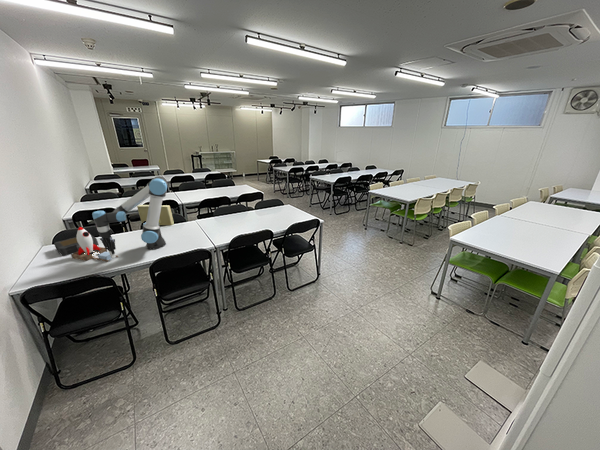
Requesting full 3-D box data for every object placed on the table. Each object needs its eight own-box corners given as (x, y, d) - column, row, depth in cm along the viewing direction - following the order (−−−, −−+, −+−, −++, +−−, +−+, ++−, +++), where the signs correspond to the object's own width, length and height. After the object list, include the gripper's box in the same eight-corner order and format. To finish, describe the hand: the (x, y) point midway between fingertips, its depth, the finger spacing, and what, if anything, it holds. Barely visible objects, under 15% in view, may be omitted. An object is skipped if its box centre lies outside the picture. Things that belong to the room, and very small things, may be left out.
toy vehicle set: (174, 223, 261) (170, 205, 253) (171, 225, 257) (167, 206, 249) (144, 223, 264) (139, 204, 256) (141, 224, 260) (136, 205, 252)
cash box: (62, 257, 194) (59, 249, 191) (56, 250, 205) (53, 242, 202) (99, 245, 213) (96, 238, 210) (92, 240, 224) (89, 232, 221)
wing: (114, 256, 193) (113, 253, 192) (107, 260, 188) (105, 256, 187) (106, 255, 196) (105, 251, 194) (99, 258, 190) (97, 255, 189)
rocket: (89, 258, 191) (77, 230, 181) (78, 257, 193) (67, 229, 183) (102, 251, 201) (92, 225, 192) (92, 250, 203) (81, 224, 194)
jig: (122, 254, 197) (121, 250, 196) (102, 264, 183) (101, 260, 182) (93, 249, 206) (92, 245, 205) (72, 258, 192) (70, 254, 191)
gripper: (115, 229, 182) (124, 256, 191) (103, 227, 185) (112, 254, 194) (105, 233, 175) (115, 260, 184) (93, 231, 178) (102, 258, 187)
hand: (113, 257), depth 189 cm, fingers closed
